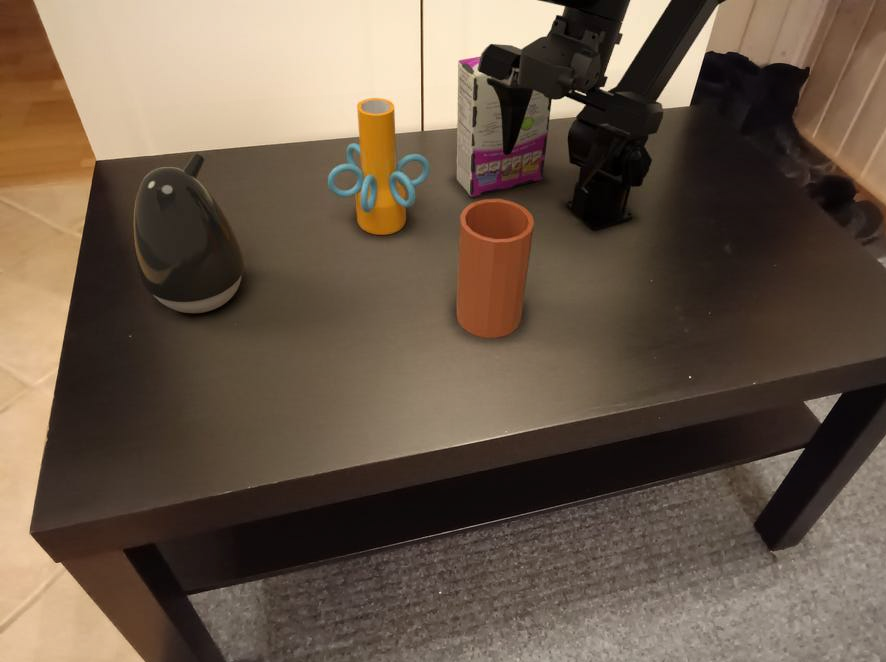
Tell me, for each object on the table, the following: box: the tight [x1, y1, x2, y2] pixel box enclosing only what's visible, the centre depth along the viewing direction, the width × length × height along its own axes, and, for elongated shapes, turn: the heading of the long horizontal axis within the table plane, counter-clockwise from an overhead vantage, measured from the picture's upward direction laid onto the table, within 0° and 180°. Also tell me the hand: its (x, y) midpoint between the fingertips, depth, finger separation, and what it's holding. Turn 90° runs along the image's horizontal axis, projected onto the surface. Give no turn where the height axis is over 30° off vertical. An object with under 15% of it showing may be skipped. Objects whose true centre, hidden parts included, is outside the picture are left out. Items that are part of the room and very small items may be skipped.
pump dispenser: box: [132, 153, 245, 314], centre depth 70 cm, size 10×10×15 cm
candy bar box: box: [456, 55, 553, 198], centre depth 89 cm, size 11×5×16 cm, turn 117°
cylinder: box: [327, 97, 431, 236], centre depth 81 cm, size 12×10×15 cm
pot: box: [455, 198, 535, 339], centre depth 71 cm, size 7×7×12 cm
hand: (542, 170), depth 74 cm, fingers open, 9 cm apart
